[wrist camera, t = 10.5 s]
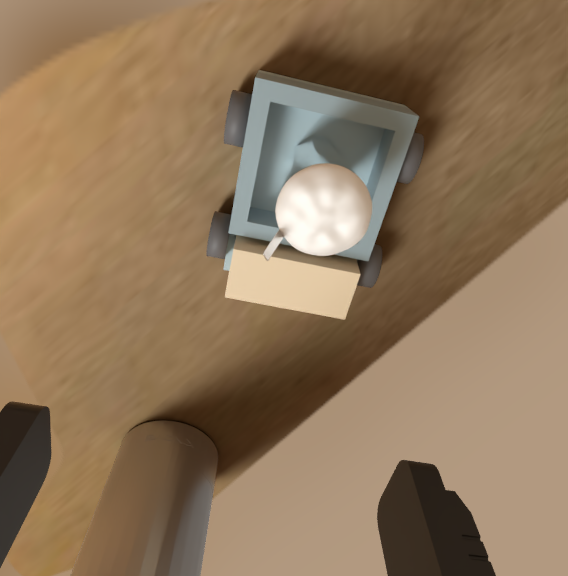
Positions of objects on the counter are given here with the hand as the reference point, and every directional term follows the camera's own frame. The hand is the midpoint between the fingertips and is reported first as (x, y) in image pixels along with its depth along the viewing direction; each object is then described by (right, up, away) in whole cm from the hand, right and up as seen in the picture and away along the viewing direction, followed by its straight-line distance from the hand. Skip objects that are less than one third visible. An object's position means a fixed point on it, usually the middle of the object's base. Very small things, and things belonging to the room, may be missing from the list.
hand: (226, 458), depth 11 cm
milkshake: (+3, +12, +18) cm, 22 cm away
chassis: (+3, +10, +20) cm, 23 cm away
